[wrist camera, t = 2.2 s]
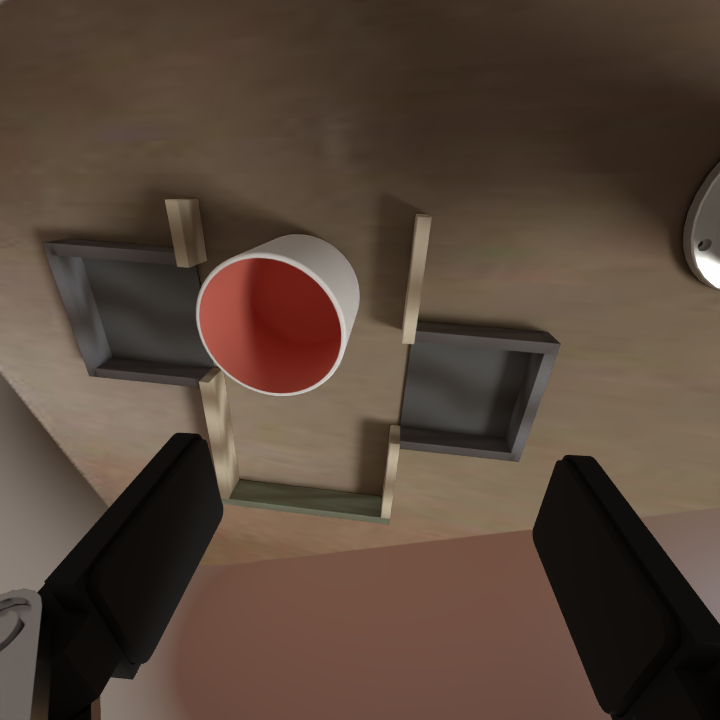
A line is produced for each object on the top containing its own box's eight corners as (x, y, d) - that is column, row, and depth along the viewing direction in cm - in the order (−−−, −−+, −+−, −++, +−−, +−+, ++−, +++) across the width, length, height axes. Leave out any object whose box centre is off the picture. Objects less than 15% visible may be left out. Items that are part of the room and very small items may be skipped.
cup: (239, 239, 30) (171, 262, 21) (353, 225, 28) (332, 242, 19) (267, 344, 34) (221, 400, 25) (367, 336, 33) (355, 393, 24)
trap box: (51, 189, 29) (16, 189, 27) (584, 224, 26) (605, 229, 24) (142, 473, 44) (126, 491, 42) (488, 515, 42) (494, 537, 39)
